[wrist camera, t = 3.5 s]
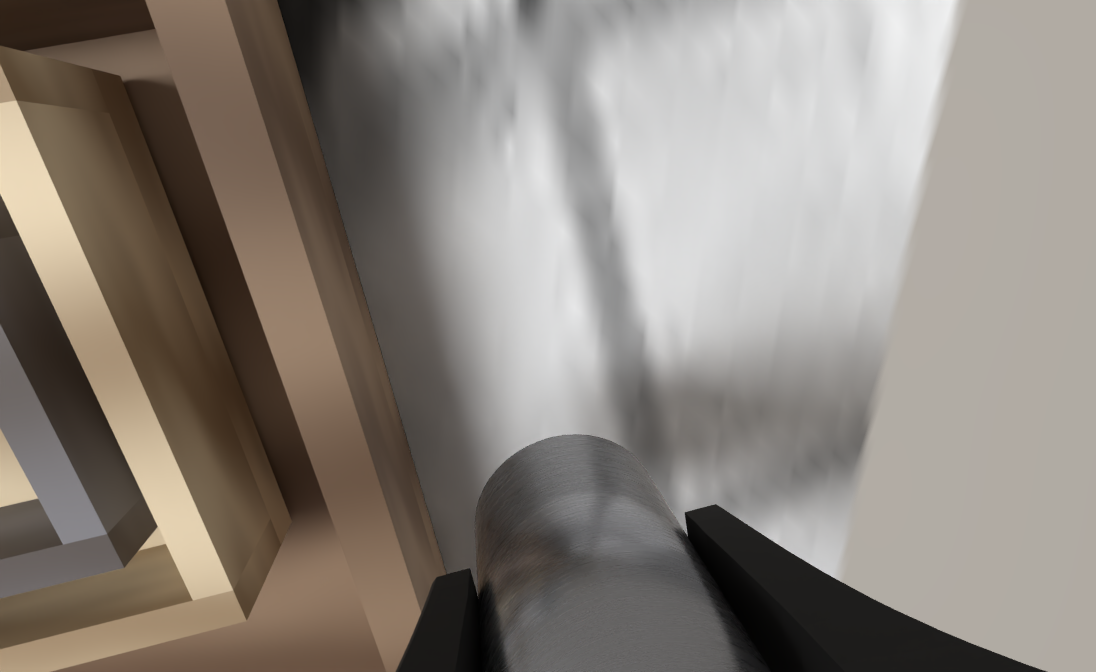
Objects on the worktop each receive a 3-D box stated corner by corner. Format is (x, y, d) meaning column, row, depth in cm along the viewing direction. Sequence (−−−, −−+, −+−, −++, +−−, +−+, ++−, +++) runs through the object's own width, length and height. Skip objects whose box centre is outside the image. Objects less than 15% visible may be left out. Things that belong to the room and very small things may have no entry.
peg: (666, 570, 13) (823, 871, 8) (496, 615, 13) (528, 968, 7) (644, 414, 12) (810, 637, 6) (455, 460, 12) (454, 739, 6)
